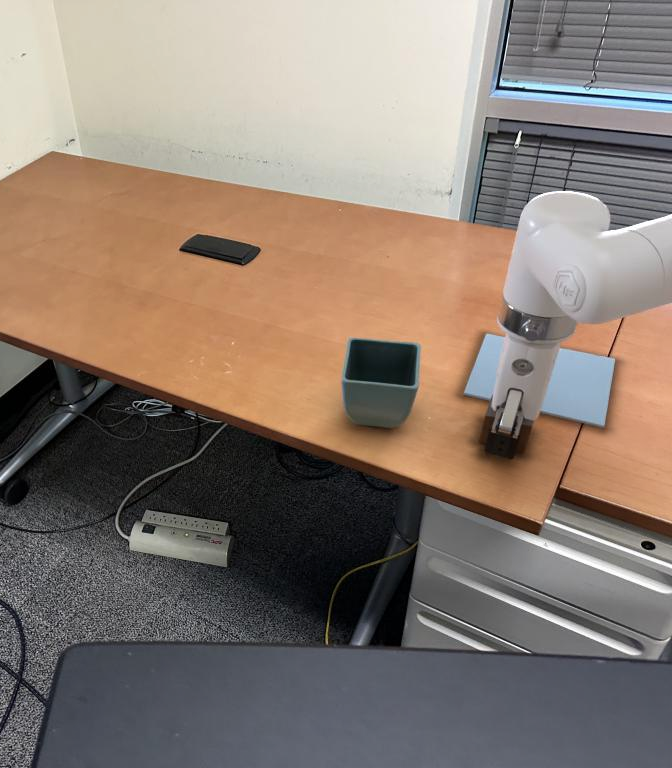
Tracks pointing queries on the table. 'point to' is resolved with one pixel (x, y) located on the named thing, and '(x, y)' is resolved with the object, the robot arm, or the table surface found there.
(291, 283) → the table surface
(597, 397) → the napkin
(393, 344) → the flower pot
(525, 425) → the walnut block
